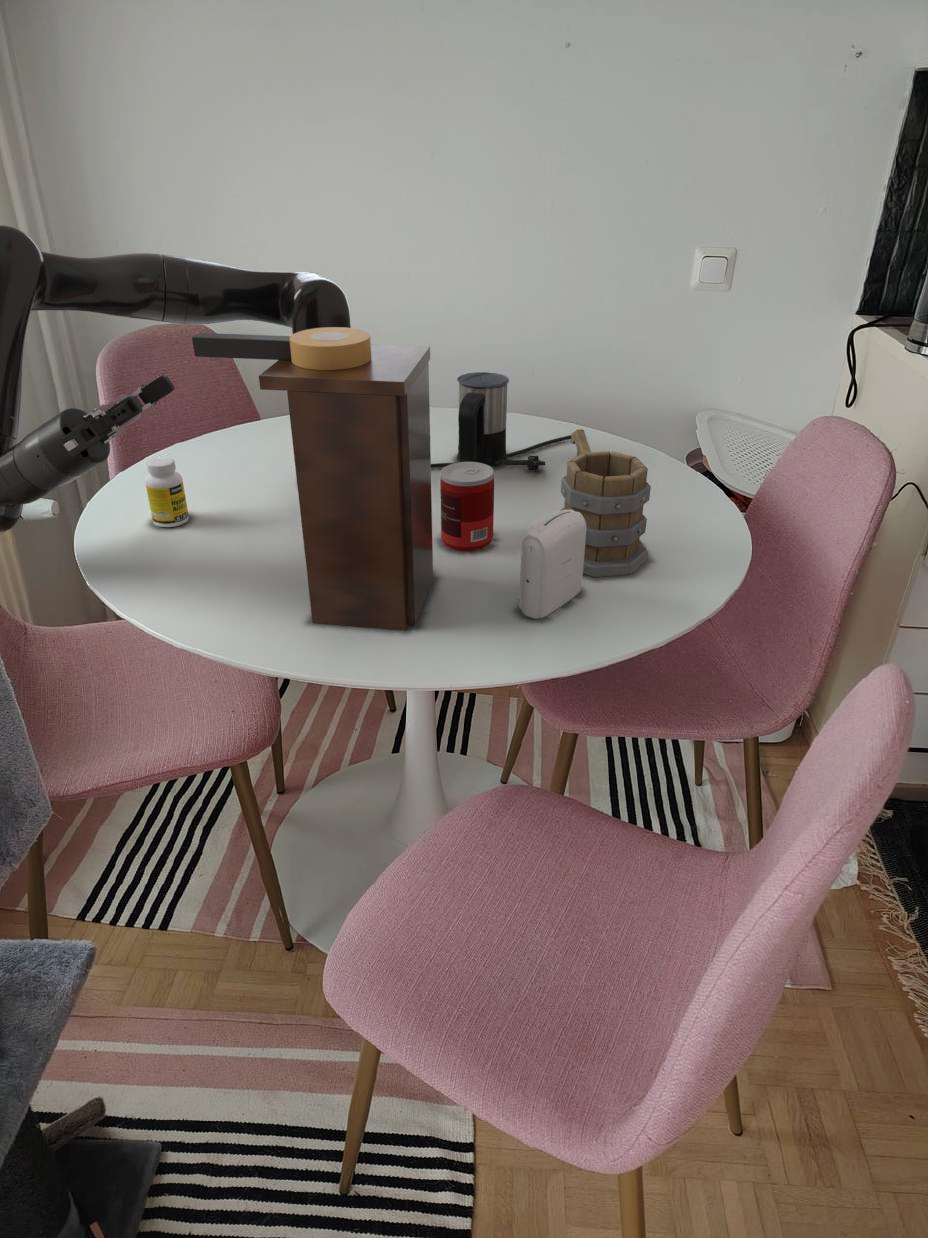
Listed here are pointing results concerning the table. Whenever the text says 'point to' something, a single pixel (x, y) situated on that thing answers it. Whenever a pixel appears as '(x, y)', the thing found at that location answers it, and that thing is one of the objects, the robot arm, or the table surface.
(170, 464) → the supplement bottle
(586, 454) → the tankard
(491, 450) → the milk frother
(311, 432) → the wooden cabinet
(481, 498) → the canned food
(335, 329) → the disc with black handle
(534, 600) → the photo printer
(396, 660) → the table surface
